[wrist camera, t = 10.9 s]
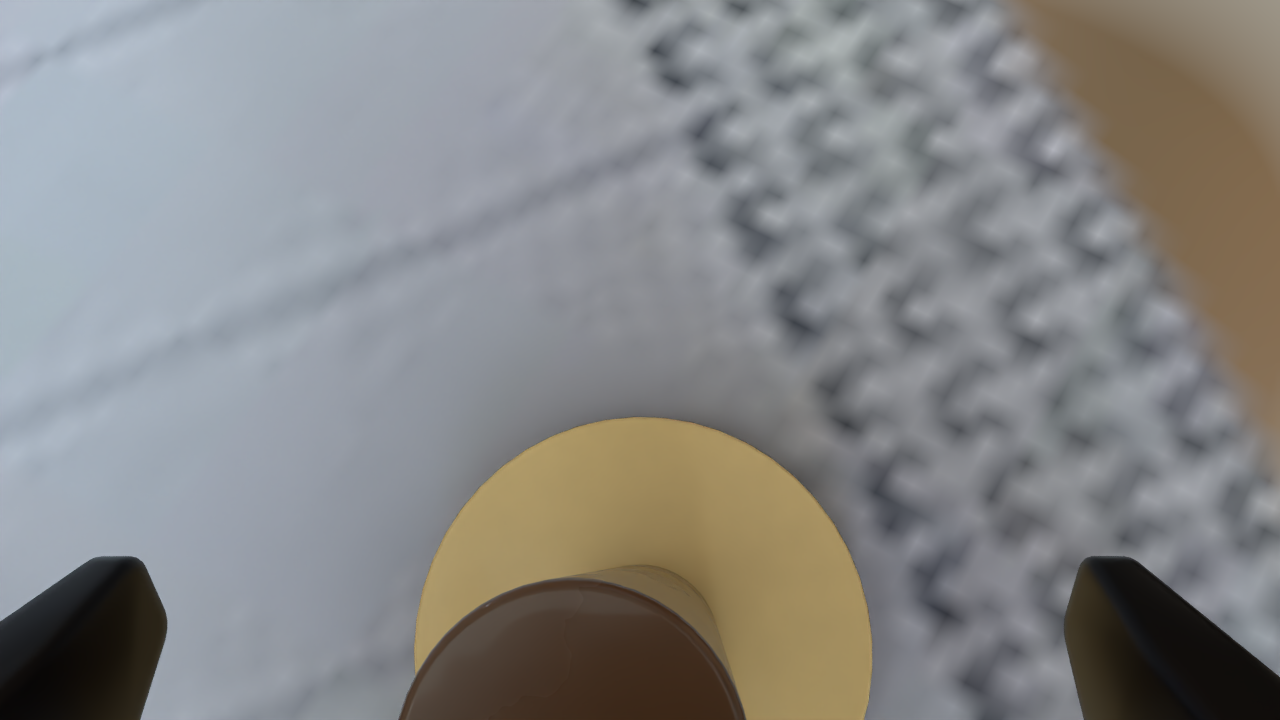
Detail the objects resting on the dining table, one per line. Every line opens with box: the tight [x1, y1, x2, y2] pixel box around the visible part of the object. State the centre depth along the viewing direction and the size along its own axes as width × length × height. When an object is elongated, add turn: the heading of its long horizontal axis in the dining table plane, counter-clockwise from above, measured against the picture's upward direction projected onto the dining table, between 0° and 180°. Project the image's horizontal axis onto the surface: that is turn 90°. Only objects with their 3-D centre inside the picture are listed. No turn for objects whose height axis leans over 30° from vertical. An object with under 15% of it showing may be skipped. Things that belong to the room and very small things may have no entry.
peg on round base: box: [398, 417, 872, 720], centre depth 12 cm, size 8×8×11 cm
